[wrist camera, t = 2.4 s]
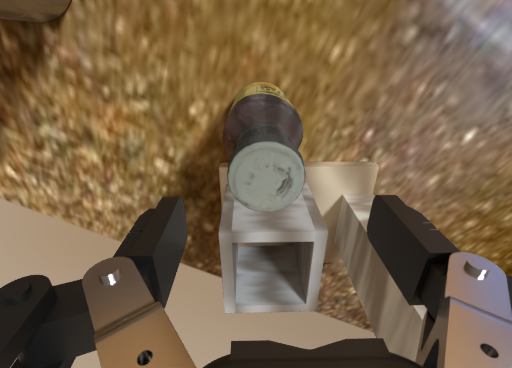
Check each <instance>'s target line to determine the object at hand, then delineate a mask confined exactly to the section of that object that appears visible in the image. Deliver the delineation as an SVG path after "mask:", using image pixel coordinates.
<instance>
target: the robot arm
mask: <svg viewBox="0 0 512 368" xmlns="http://www.w3.org/2000/svg"><path fill="white" fill-rule="evenodd" d="M70 1H71V0H0V18H1V19H10V20H19V21H28V22H47V21H51V20H54V19H55V18H57V17H59V16H60V15H61V14H62V13H63V12H64V11H65V10H66V9H67V7H68V5H69V3H70ZM367 236H368V239H369V241H370V243H371V244H372V246H373V248H374V249H375V251H376V253H377V254H378V256H379V257H380V259H381V261H382V262H383V264H384V265H385V267H386V269H387V270H388V272H389V274H390V275H391V277H392V278H393V280H394V282H395V283H396V285H397V286H398V288H399V290H400V291H401V293H402V295H403V296H404V298H405V299H406V301H407V303H408V304H409V306H411V305H424V306H425V307H426V309H427V310H426V312H425V315H424V318H423V324H422V329H421V334H420V340H419V345H418V351H417V356H416V361H415V362H414V361H412V360H410V359H408V358H405V357H403V356H400V355H398V354H395V353H392V352H389V350H388V348H387V346H386V344H385V342H384V339H383V338H374V339H373V338H370V339H345V340H341V341H338V342H334V343H331V344H328V345H325V346H322V347H318V348H315V349H311V350H308V349H302V348H298V347H294V346H290V345H286V344H282V343H277V342H273V341H268V340H267V341H231V354H229V355H226V356H223V357H221V358H219V359H216V360H214V361H212V362H211V363H209V364H207V365H206V366H204V367H203V368H512V276H507V275H505V273H504V272H503V271H502V270H501V269H500V268H499V267H498V266H497V265H495V264H494V263H492V262H491V261H489V260H487V259H485V258H483V257H480V256H478V255H475V254H471V253H465V252H461V251H459V250H458V249H457V248H456V247H455V246H454V245H453V244H452V243H451V242H450V241H449V240H448V239H447V238H446V237H445V236H444V235H443V234H442V233H441V232H440V231H439V230H437V228H436V227H435V226H434V225H433V224H432V223H430V222H429V221H428V220H427V219H426V218H425V217H424V216H423V215H422V214H421V213H419V212H418V211H416V210H414V209H412V208H411V207H407V206H406V205H405V203H404V202H403V201H402V200H401V199H400V198H399V197H398V196H396V195H376V196H375V197H374V199H373V202H372V207H371V211H370V215H369V219H368V224H367ZM186 241H187V222H186V215H185V208H184V201H183V198H182V197H181V196H180V197H162V199H161V200H160V202H159V204H158V205H157V207H156V209H148V210H147V211H146V212H144V213H143V214H142V215H140V216H139V218H138V219H137V221H136V222H135V224H134V226H133V227H132V229H131V230H130V233H128V235H127V236H126V238H125V239H124V241H123V242H122V244H121V245H120V247H119V248H118V250H117V251H116V253H115V255H114V256H113V258H109V259H106V260H103V261H101V262H99V263H97V264H95V265H94V266H93V267H91V268H90V269H89V270H88V271H87V272H86V274H85V275H84V277H83V279H80V280H77V281H73V282H68V283H65V284H60V285H56V286H52V284H51V282H50V280H49V279H48V278H47V277H45V276H43V275H30V276H26V277H23V278H20V279H17V280H15V281H13V282H10V283H8V284H7V285H5V286H3V287H2V288H0V368H10V367H11V365H12V364H13V363H14V364H13V365H12V367H11V368H71V366H72V364H73V362H74V360H75V358H76V357H77V356H80V355H83V354H86V353H89V352H92V351H95V350H97V353H98V357H99V360H100V364H101V368H196V366H195V364H194V362H193V361H192V359H191V357H190V355H189V353H188V351H187V350H186V348H185V346H184V344H183V343H182V341H181V339H180V337H179V335H178V333H177V332H176V330H175V328H174V326H173V325H172V323H171V321H170V319H169V317H168V316H167V314H166V312H165V310H164V308H165V306H166V303H167V300H168V297H169V294H170V291H171V288H172V285H173V282H174V278H175V275H176V272H177V269H178V266H179V263H180V260H181V257H182V254H183V251H184V248H185V245H186ZM16 358H17V359H16ZM15 360H16V361H15ZM14 361H15V362H14Z"/></svg>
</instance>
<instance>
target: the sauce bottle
mask: <svg viewBox="0 0 512 368" xmlns="http://www.w3.org/2000/svg"><path fill="white" fill-rule="evenodd" d="M302 138H303V125H302V121H301V119H300V116H299V114H298V113H297V111H296V110H295V108H294V107H293V106H292V104H291V103H290V101H289V100H288V99H287V98H286V96H285V95H284V93H283V92H282V91H281V90H280V89H279V88H278V87H276V86H275V85H273V84H270V83H267V82H255V83H252V84H249V85H248V86H246V87H244V88H243V89H242V90H241V91H240V92H239V93H238V95H237V96H236V98H235V101H234V103H233V105H232V107H231V109H230V112H229V114H228V116H227V119H226V123H225V127H224V131H223V144H224V148H225V151H226V154H227V156H228V158H229V159H230V160H229V165H228V171H227V181H228V186H229V189H230V191H231V193H232V195H233V196H234V197H235V199H236V200H238V201H239V202H240V203H241V204H242V205H243V206H244V207H246V208H248V209H251V210H254V211H258V212H260V211H263V212H274V211H278V210H281V209H283V208H285V207H287V206H289V205H290V204H291V203H292V202H293V201H295V200H296V199H297V198H298V196H299V195H300V193H301V191H302V189H303V186H304V182H305V178H306V172H305V168H304V162H303V159H302V156H301V154H300V152H299V151H298V148H299V146H300V144H301V142H302Z"/></svg>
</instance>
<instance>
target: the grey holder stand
mask: <svg viewBox="0 0 512 368" xmlns="http://www.w3.org/2000/svg"><path fill="white" fill-rule="evenodd" d="M228 165H229V163H220V165H219V177H220V191H221V206H222V215H221V221H220V227H219V244H220V257H221V270H222V280H223V281H222V282H223V294H224V307H225V313H261V312H262V313H263V312H302V311H303V312H304V311H305V312H306V311H316V307H317V300H318V294H319V287H320V281H321V275H322V268H323V263H340V262H343V263H344V265H345V268H346V270H347V272H348V274H349V277H350V279H351V281H352V284H353V286H354V288H355V290H356V293H357V295H358V297H359V299H360V302H361V304H362V306H363V309H364V311H365V313H366V315H367V318H368V320H369V322H370V325H371V327H372V329H373V331H374V334H375V336H376V338H383V339H384V342H385V344H386V346H387V348H388V350H389V352H392V353H395V354H398V355H400V356H403V357H405V358H408V359H410V360H412V361H414V362H415V361H416V356H417V351H418V345H419V340H420V334H421V329H422V324H423V318H424V315H425V312H426V310H427V309H426V307H425V306H424V305H411V306H409V304H408V303H407V301H406V299H405V298H404V296H403V295H402V293H401V291H400V290H399V288H398V286H397V285H396V283H395V282H394V280H393V278H392V277H391V275H390V274H389V272H388V270H387V269H386V267H385V265H384V264H383V262H382V261H381V259H380V257H379V256H378V254H377V253H376V251H375V249H374V248H373V246H372V244H371V243H370V241H369V239H368V236H367V224H368V219H369V215H370V211H371V207H372V202H373V199H374V197H375V196H374V195H373V190H374V185H375V181H376V177H377V172H378V168H379V166H378V165H377V164H376V163H375V162H374V161H370V162H304V168H305V172H306V178H305V182H304V186H303V189H302V191H301V193H300V195H299V196H298V198H297V199H296V200H295V201H293V202H292V203H291V204H290V205H289V206H287V207H285V208H283V209H281V210H278V211H274V212H263V211H260V212H258V211H254V210H251V209H248V208H246V207H244V206H243V205H242V204H241V203H240V202H239V201H238V200H236V199H235V197H234V196H233V195H232V193H231V191H230V189H229V186H228V181H227V171H228Z"/></svg>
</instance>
